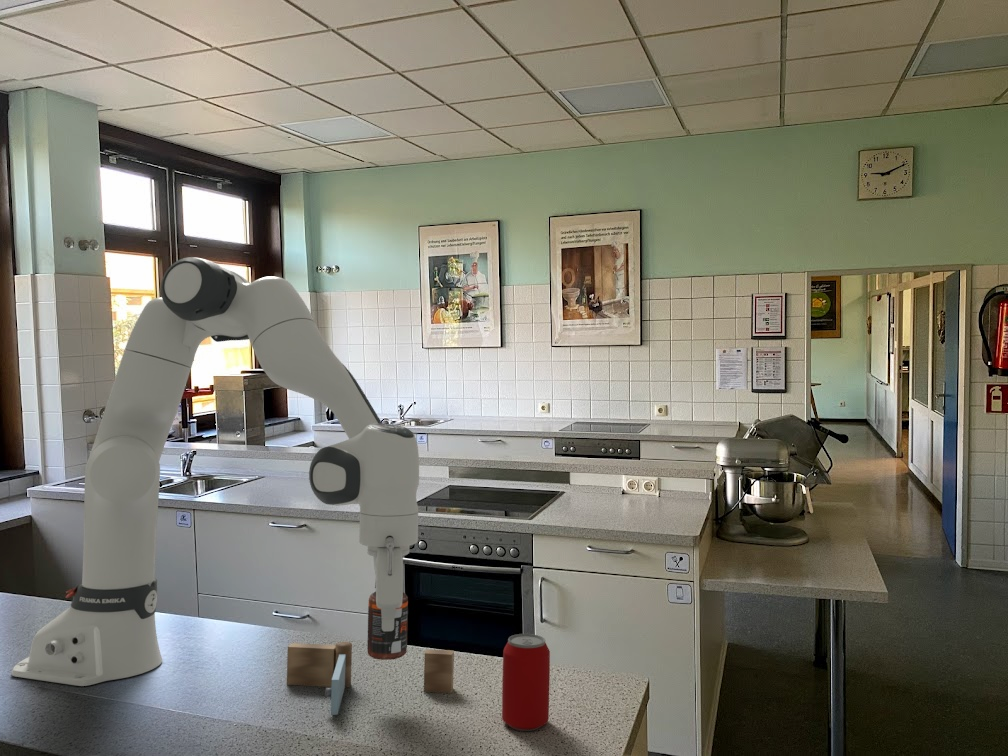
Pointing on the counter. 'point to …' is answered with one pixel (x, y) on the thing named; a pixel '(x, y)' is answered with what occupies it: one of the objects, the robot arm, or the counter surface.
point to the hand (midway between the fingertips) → (387, 622)
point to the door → (337, 685)
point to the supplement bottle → (387, 642)
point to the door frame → (320, 662)
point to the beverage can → (525, 682)
